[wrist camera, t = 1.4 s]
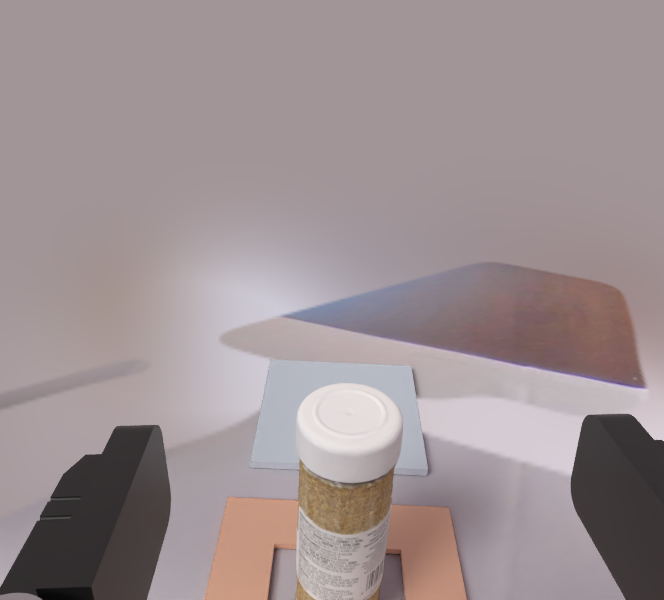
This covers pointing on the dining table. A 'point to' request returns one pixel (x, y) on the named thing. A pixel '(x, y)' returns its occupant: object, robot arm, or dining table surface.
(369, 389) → the sprinkles bottle
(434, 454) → the dining table surface
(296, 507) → the peach square frame
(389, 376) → the pad
